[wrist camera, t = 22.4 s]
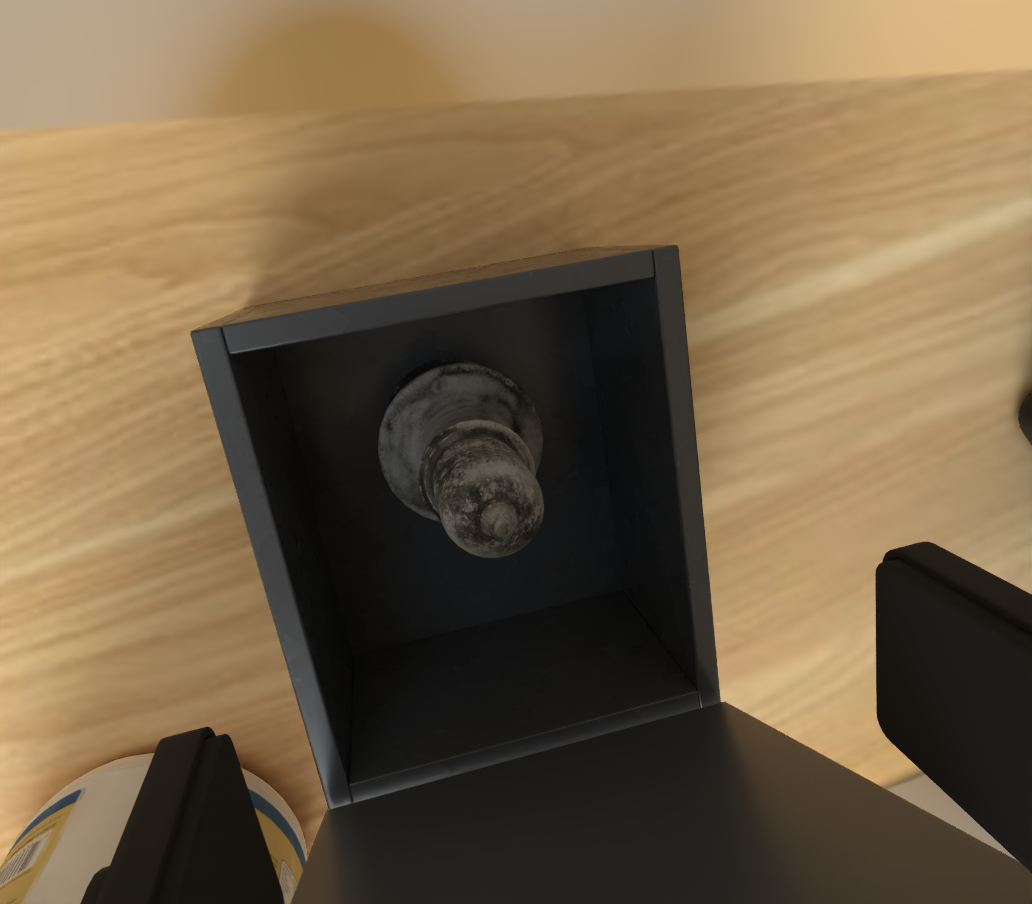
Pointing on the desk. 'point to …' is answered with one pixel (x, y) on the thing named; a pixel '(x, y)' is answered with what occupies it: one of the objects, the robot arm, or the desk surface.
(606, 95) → the desk surface
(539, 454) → the chess piece
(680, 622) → the chest
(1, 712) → the desk surface
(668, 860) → the lid
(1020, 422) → the flower pot
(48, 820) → the supplement tub
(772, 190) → the desk surface
